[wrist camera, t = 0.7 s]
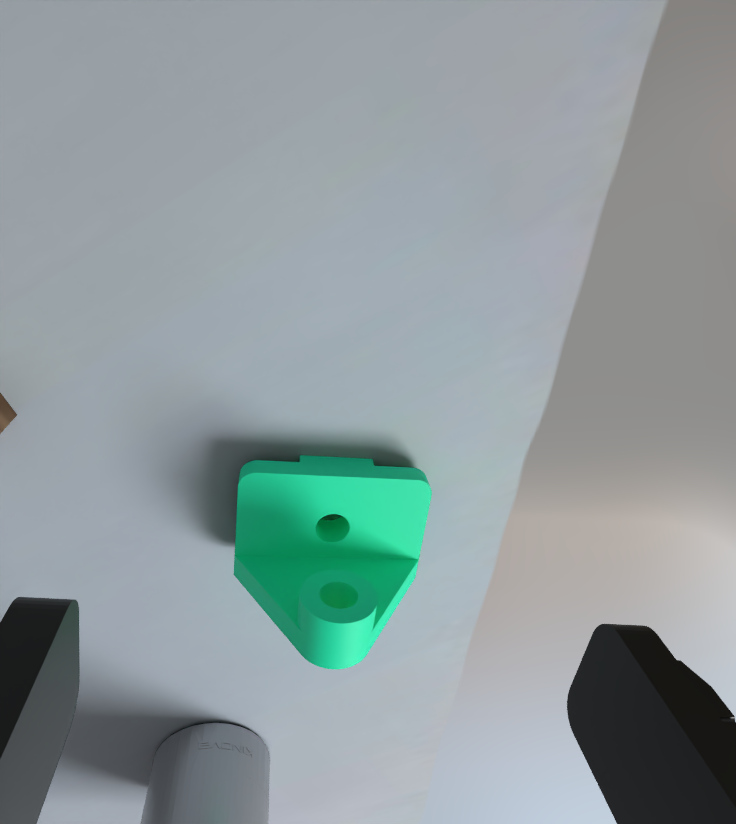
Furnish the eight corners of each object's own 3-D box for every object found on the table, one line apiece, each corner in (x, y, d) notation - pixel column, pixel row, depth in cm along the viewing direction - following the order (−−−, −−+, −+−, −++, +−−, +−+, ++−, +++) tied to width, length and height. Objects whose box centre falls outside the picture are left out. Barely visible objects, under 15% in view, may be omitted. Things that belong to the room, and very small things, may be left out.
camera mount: (425, 460, 41) (467, 559, 31) (407, 553, 44) (441, 668, 35) (241, 450, 39) (228, 553, 29) (236, 549, 42) (223, 670, 33)
